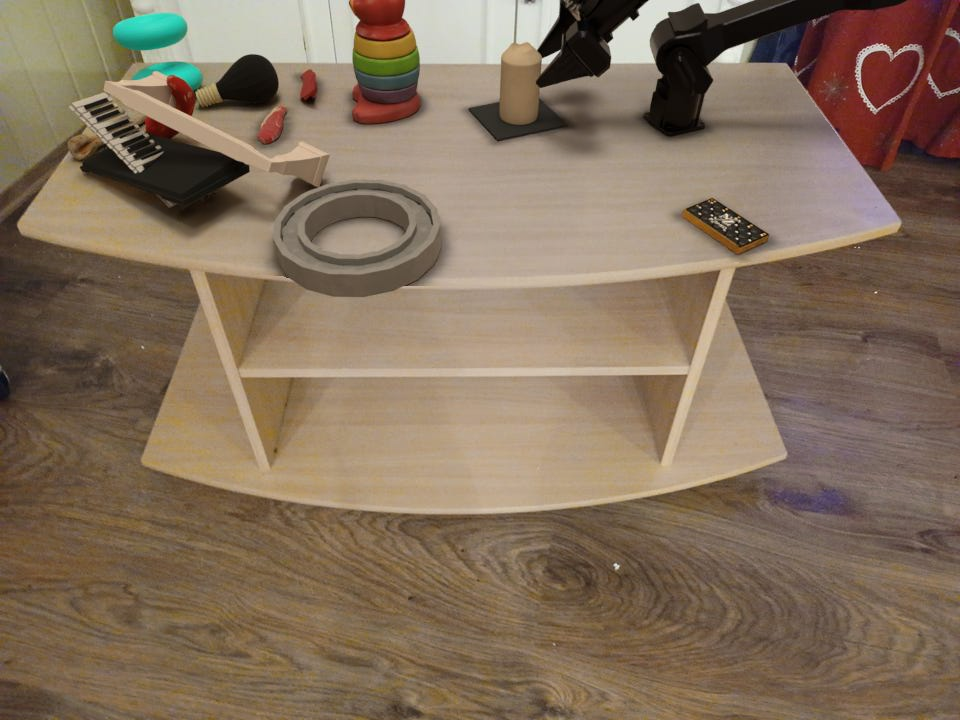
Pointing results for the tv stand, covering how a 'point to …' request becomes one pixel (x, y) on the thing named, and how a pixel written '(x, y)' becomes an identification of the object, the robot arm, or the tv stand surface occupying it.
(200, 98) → the light bulb
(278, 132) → the steak
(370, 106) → the stacking bear
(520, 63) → the candle
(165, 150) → the synthesizer keyboard
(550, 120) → the mat
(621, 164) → the tv stand surface
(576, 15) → the robot arm
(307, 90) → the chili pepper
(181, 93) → the vegetable
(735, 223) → the black flat block
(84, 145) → the brown bone
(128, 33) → the donuts
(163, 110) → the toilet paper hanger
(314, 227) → the mechanical component
